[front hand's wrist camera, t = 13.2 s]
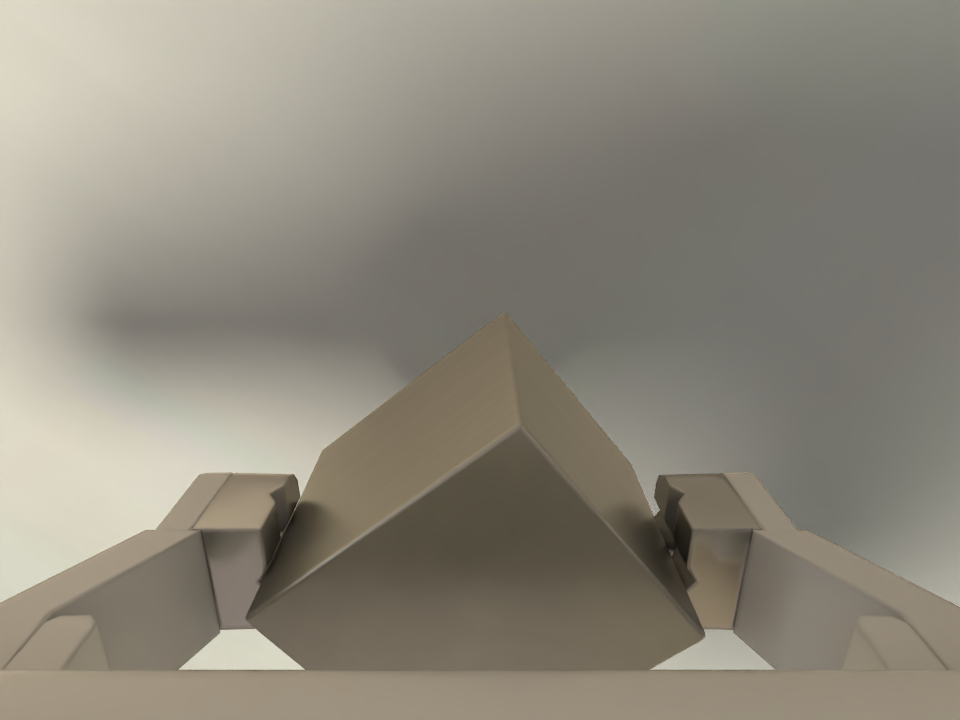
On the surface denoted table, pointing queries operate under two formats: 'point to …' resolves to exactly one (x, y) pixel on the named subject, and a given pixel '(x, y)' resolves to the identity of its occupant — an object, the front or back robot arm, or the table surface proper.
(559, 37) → the table surface
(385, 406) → the block
